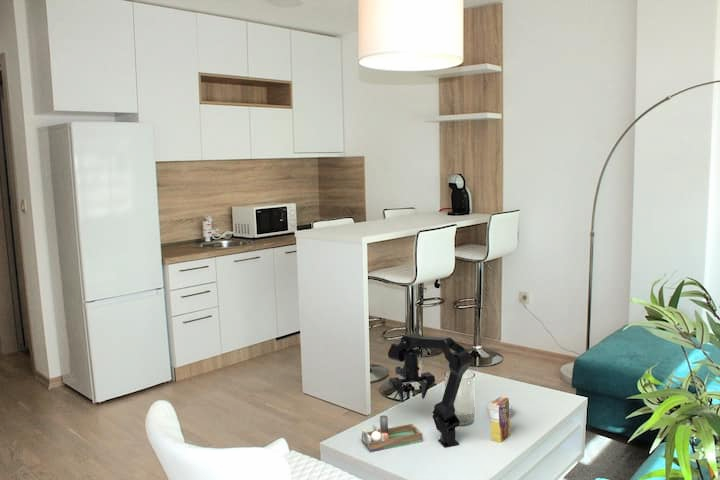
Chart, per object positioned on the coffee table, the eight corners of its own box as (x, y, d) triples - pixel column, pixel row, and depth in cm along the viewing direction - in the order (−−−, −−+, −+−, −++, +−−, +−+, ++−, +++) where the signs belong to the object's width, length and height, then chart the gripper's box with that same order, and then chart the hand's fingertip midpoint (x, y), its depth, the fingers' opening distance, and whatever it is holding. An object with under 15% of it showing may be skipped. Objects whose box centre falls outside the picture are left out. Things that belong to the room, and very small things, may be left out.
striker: (391, 443, 238) (390, 419, 237) (384, 444, 237) (383, 421, 236) (385, 435, 245) (384, 413, 244) (378, 437, 244) (377, 414, 243)
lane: (422, 441, 241) (421, 427, 240) (370, 452, 234) (369, 437, 233) (412, 431, 250) (412, 417, 249) (362, 441, 243) (361, 427, 243)
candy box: (500, 432, 246) (500, 396, 244) (510, 434, 243) (509, 398, 241) (490, 440, 239) (489, 403, 237) (500, 443, 237) (499, 405, 235)
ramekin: (508, 410, 267) (508, 399, 266) (515, 421, 256) (515, 409, 255) (483, 412, 267) (482, 400, 266) (489, 422, 256) (488, 410, 255)
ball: (370, 439, 237) (376, 447, 238) (379, 431, 237) (385, 439, 239) (367, 434, 241) (373, 442, 242) (375, 427, 242) (381, 435, 243)
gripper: (424, 355, 258) (425, 390, 260) (383, 361, 253) (384, 397, 255) (435, 362, 248) (436, 399, 250) (392, 369, 242) (394, 406, 244)
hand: (412, 400), depth 250 cm, fingers open, 9 cm apart
